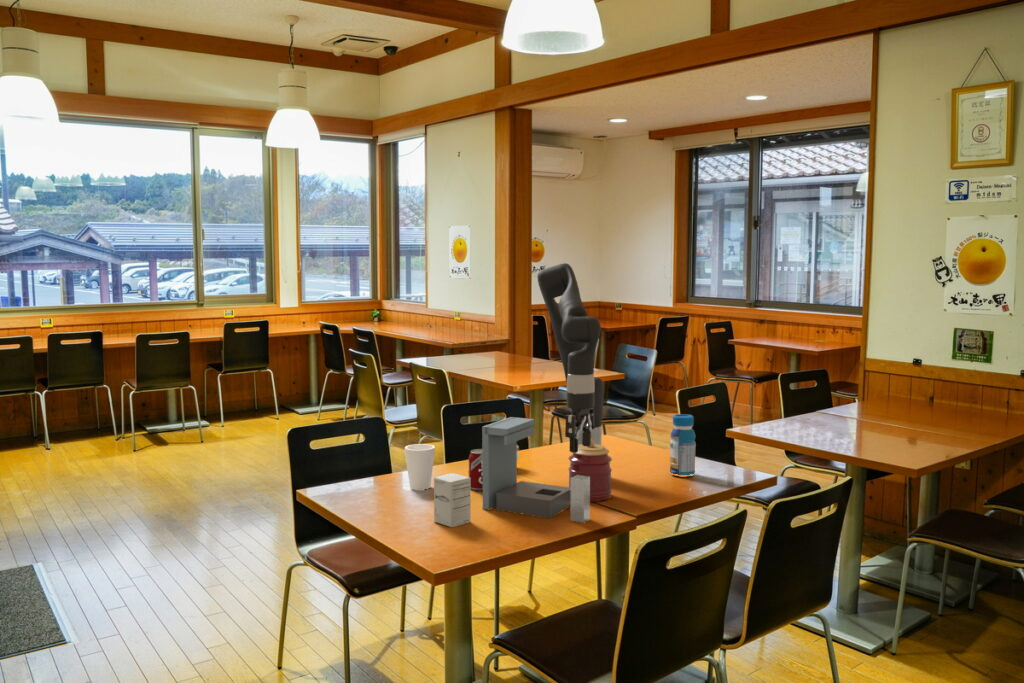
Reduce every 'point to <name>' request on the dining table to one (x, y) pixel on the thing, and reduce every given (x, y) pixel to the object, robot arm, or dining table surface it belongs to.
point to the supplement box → (452, 499)
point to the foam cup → (420, 465)
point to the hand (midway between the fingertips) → (580, 449)
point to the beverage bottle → (682, 445)
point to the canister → (593, 469)
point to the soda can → (476, 469)
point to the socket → (534, 499)
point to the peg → (580, 498)
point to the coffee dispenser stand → (501, 455)
